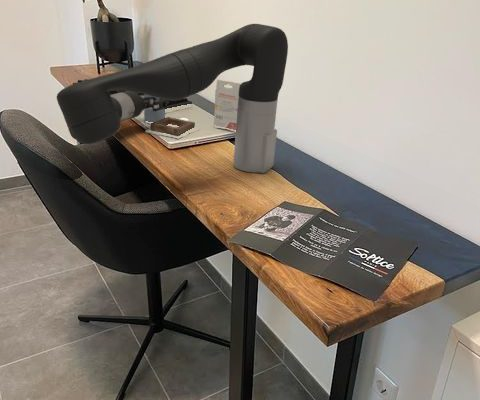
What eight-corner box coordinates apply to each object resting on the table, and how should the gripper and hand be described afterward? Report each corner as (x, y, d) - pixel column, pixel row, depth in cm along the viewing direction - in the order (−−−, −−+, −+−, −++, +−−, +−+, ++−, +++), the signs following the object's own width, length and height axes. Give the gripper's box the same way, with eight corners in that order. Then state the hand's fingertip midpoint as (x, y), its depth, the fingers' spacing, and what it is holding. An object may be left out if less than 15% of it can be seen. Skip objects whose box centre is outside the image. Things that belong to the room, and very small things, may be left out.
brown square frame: (194, 128, 145) (194, 122, 145) (178, 136, 138) (178, 129, 137) (168, 123, 149) (168, 116, 148) (150, 130, 141) (150, 123, 140)
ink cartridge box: (244, 129, 150) (248, 81, 144) (237, 133, 146) (241, 83, 140) (220, 124, 154) (223, 77, 148) (212, 127, 150) (215, 79, 144)
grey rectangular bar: (164, 122, 151) (165, 76, 145) (156, 125, 147) (157, 78, 141) (152, 119, 152) (152, 74, 147) (144, 122, 149) (144, 76, 143)
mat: (199, 129, 146) (199, 128, 146) (178, 139, 136) (178, 138, 136) (167, 123, 150) (168, 121, 150) (145, 132, 140) (145, 130, 140)
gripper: (101, 115, 138) (136, 105, 151) (144, 124, 132) (175, 113, 146) (100, 88, 134) (136, 80, 148) (143, 97, 129) (176, 88, 143)
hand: (155, 97), depth 147 cm, fingers open, 8 cm apart
